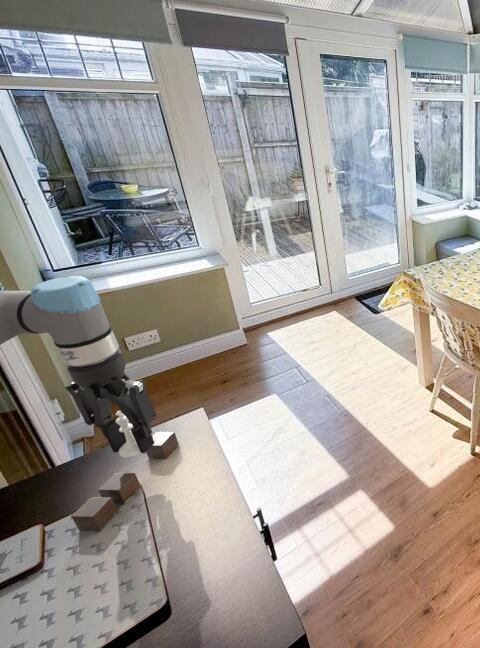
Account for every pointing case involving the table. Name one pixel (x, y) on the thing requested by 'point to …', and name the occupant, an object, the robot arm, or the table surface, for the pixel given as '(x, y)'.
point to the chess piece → (127, 437)
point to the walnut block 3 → (162, 445)
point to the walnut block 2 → (120, 487)
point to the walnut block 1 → (94, 513)
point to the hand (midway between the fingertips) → (134, 447)
